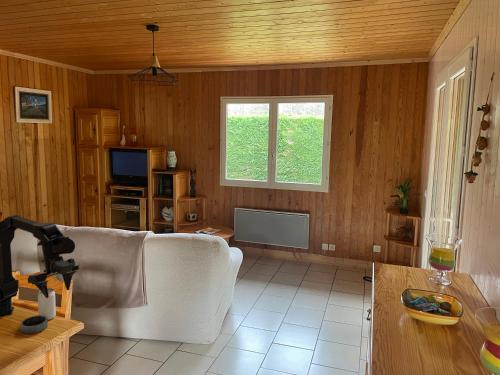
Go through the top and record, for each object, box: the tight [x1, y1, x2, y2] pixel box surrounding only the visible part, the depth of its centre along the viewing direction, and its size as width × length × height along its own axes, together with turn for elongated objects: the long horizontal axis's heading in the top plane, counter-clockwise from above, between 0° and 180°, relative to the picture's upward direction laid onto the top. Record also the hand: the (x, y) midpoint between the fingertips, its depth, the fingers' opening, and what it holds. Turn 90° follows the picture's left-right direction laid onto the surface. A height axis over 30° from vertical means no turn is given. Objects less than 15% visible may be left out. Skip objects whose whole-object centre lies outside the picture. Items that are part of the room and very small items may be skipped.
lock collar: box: [20, 315, 48, 335], centre depth 151 cm, size 9×9×3 cm
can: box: [37, 287, 57, 321], centre depth 159 cm, size 6×6×12 cm
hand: (58, 293), depth 148 cm, fingers open, 9 cm apart
